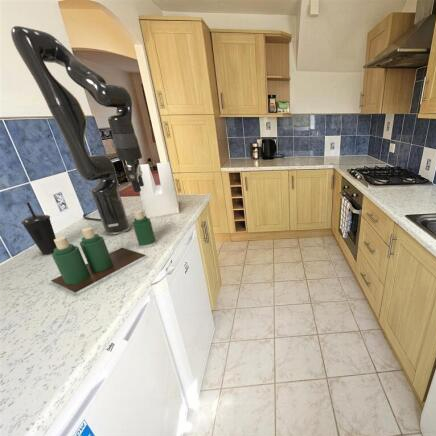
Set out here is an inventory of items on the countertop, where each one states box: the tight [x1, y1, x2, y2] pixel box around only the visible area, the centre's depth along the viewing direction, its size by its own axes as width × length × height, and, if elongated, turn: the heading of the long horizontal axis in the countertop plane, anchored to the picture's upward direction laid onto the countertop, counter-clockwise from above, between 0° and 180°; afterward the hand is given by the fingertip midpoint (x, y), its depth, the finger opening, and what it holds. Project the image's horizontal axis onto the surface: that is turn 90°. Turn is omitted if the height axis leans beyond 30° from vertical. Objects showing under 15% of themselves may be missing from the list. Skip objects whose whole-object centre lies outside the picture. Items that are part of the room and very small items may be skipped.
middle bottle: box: [79, 226, 113, 272], centre depth 78 cm, size 6×6×14 cm
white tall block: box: [139, 161, 180, 219], centre depth 128 cm, size 19×15×25 cm
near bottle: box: [51, 236, 90, 285], centre depth 73 cm, size 6×6×14 cm
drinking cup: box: [20, 202, 57, 255], centre depth 90 cm, size 8×8×20 cm
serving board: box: [50, 247, 146, 294], centre depth 81 cm, size 14×22×1 cm, turn 155°
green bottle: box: [131, 209, 157, 247], centre depth 94 cm, size 6×6×14 cm
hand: (139, 188), depth 95 cm, fingers open, 8 cm apart
